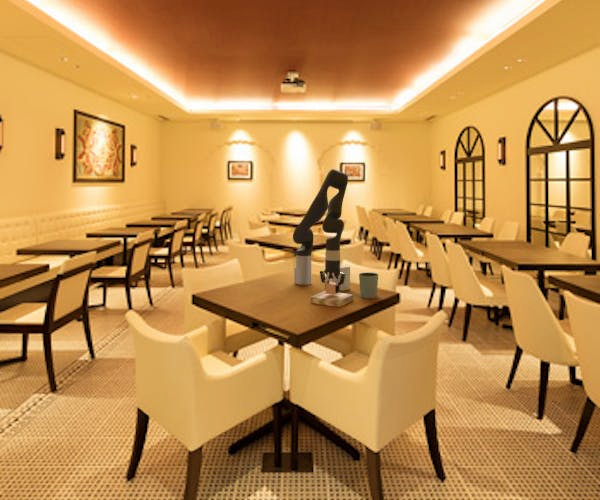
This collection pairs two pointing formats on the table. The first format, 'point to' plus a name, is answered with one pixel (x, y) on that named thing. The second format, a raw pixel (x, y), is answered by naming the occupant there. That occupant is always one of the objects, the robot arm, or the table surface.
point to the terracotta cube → (330, 288)
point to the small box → (347, 277)
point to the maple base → (332, 299)
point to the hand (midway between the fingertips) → (332, 291)
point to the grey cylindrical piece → (368, 285)
